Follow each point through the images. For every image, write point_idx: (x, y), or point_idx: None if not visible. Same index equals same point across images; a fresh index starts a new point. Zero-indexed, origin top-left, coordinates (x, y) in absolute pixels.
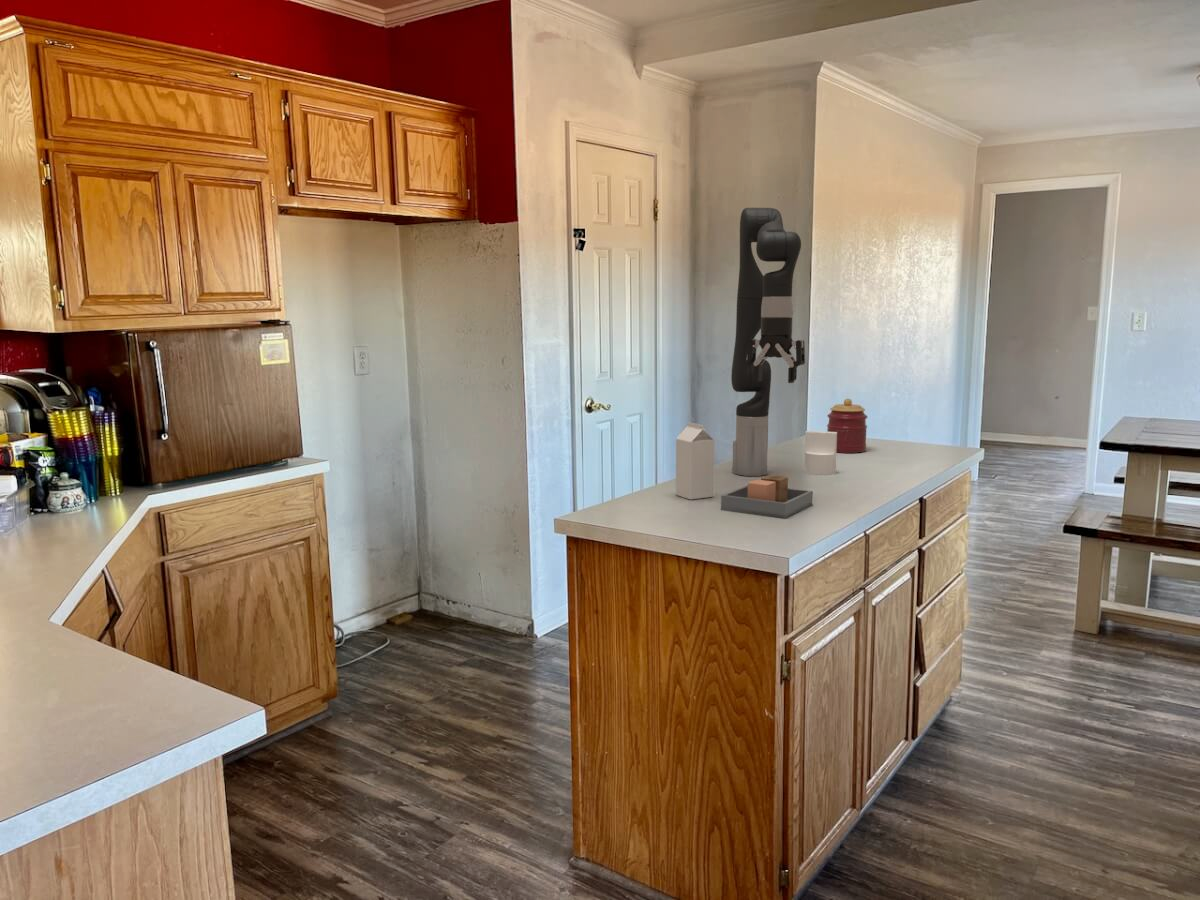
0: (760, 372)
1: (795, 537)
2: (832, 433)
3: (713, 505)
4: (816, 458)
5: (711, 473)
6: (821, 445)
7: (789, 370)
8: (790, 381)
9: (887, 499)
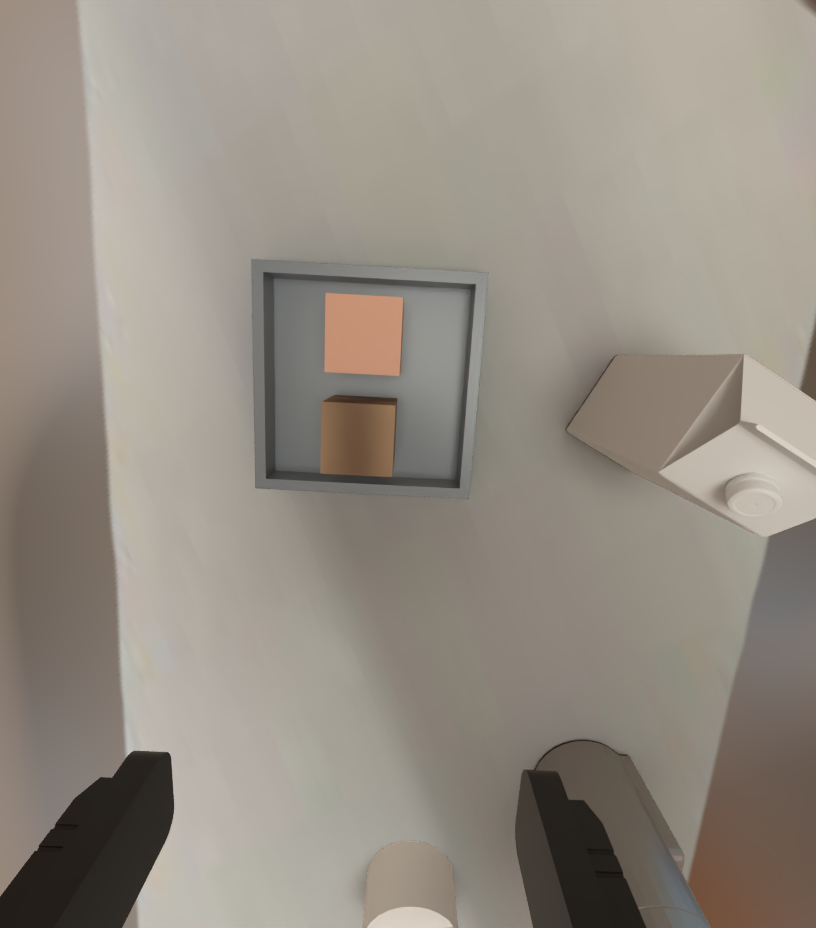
0: (545, 905)
1: (142, 43)
2: None
3: (523, 324)
4: (407, 892)
5: (599, 434)
6: None
7: (56, 893)
8: (132, 756)
9: (124, 643)
